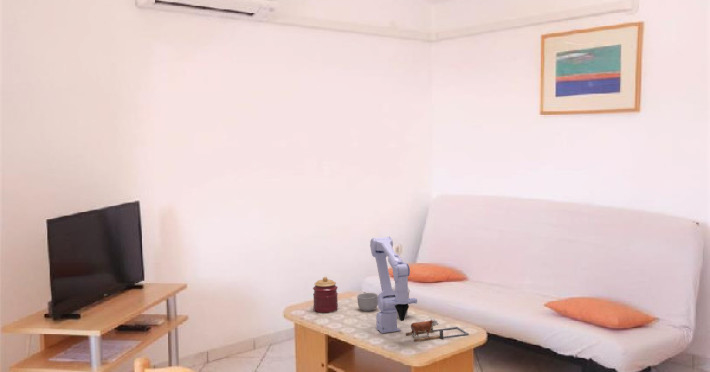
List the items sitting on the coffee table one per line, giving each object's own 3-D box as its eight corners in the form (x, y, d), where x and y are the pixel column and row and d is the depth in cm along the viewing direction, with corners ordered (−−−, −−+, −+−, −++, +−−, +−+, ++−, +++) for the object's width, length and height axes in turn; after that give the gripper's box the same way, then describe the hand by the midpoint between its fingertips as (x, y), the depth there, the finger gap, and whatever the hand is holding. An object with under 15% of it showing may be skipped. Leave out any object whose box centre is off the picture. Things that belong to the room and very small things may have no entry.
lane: (443, 338, 277) (443, 337, 277) (432, 331, 288) (432, 329, 287) (468, 334, 281) (468, 333, 281) (457, 327, 292) (457, 326, 292)
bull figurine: (439, 336, 280) (439, 319, 279) (412, 339, 276) (412, 322, 275) (435, 333, 284) (435, 316, 283) (408, 336, 280) (408, 319, 280)
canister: (333, 314, 317) (332, 280, 316) (309, 312, 321) (309, 279, 319) (341, 307, 330) (340, 274, 328) (318, 305, 333) (317, 273, 332)
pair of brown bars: (415, 342, 272) (415, 333, 272) (404, 334, 284) (404, 325, 283) (443, 338, 277) (443, 330, 276) (431, 330, 288) (431, 322, 288)
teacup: (378, 312, 318) (377, 297, 318) (357, 312, 319) (356, 297, 318) (377, 305, 332) (377, 290, 332) (357, 305, 332) (357, 290, 332)
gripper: (389, 294, 269) (390, 324, 270) (420, 291, 273) (420, 321, 274) (383, 290, 275) (384, 320, 276) (413, 287, 280) (413, 316, 281)
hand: (401, 320), depth 276 cm, fingers closed
